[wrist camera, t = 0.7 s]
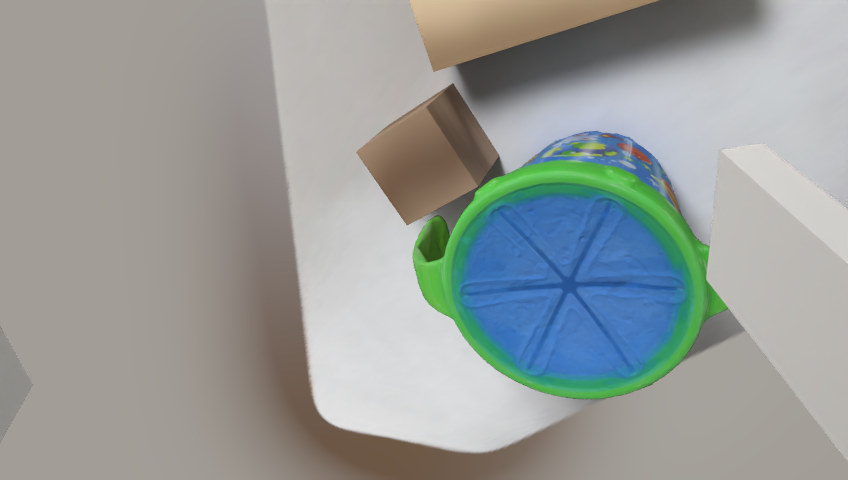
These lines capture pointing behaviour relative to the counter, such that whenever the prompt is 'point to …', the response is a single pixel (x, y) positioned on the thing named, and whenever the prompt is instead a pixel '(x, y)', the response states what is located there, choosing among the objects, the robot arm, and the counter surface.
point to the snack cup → (573, 270)
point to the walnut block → (429, 155)
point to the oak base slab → (501, 23)
